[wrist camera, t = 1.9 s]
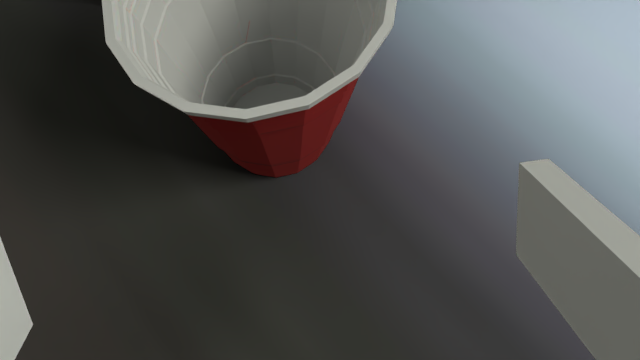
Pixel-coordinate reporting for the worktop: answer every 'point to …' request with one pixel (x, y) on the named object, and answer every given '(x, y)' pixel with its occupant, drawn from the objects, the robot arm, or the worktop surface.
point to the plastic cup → (252, 68)
